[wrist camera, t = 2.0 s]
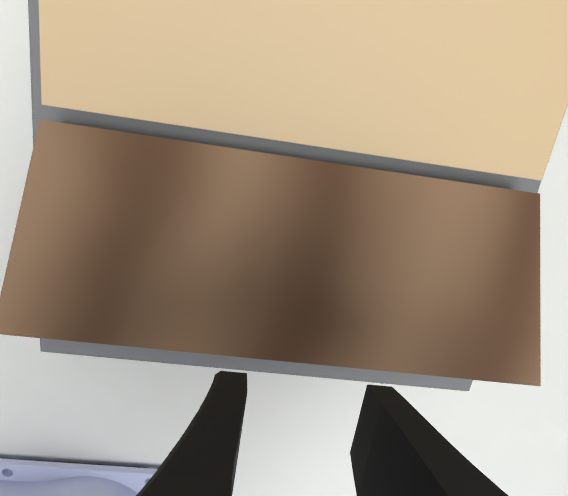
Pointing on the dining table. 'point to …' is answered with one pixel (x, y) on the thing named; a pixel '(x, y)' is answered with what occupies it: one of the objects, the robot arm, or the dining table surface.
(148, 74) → the base board
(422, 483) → the robot arm
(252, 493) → the dining table surface
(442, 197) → the walnut plank
